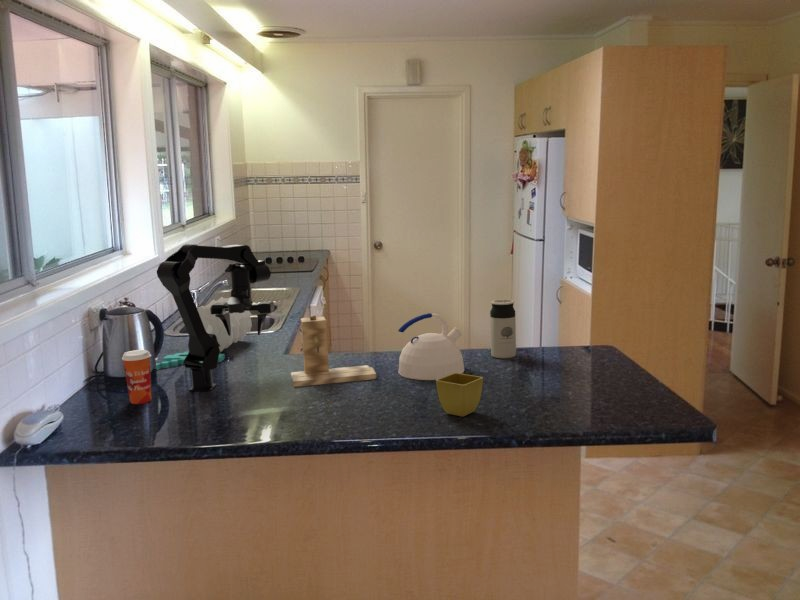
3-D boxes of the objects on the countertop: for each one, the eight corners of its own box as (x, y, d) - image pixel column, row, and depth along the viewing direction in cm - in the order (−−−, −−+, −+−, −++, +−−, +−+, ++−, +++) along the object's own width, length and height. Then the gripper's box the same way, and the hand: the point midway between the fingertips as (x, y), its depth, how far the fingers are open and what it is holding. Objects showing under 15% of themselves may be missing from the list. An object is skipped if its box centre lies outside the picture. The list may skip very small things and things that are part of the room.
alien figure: (211, 370, 239) (231, 355, 258) (210, 364, 239) (230, 349, 258) (151, 371, 241) (176, 356, 261) (151, 365, 241) (175, 350, 260)
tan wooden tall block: (308, 386, 211) (304, 325, 208) (304, 372, 226) (300, 315, 223) (332, 384, 212) (329, 322, 209) (327, 370, 227) (323, 313, 224)
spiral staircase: (246, 349, 282) (221, 363, 257) (204, 330, 283) (176, 342, 259) (263, 306, 279) (239, 316, 254) (221, 287, 280) (194, 295, 255)
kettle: (477, 374, 220) (475, 314, 217) (413, 384, 213) (410, 323, 209) (448, 359, 239) (446, 304, 235) (388, 368, 231) (385, 311, 228)
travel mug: (490, 353, 244) (489, 299, 241) (514, 352, 243) (513, 298, 240) (492, 359, 236) (491, 303, 233) (517, 358, 236) (516, 303, 233)
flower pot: (456, 405, 192) (455, 371, 190) (484, 411, 186) (483, 376, 185) (436, 414, 185) (434, 380, 184) (464, 421, 180) (463, 385, 178)
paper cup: (125, 406, 203) (119, 357, 200) (127, 398, 210) (122, 350, 208) (155, 403, 205) (150, 354, 202) (156, 395, 212) (151, 348, 210)
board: (294, 389, 212) (293, 381, 211) (290, 375, 227) (290, 367, 227) (376, 381, 216) (376, 373, 216) (368, 368, 232) (367, 360, 231)
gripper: (202, 290, 220) (206, 341, 222) (264, 288, 219) (268, 340, 221) (214, 284, 231) (217, 333, 233) (273, 283, 230) (276, 332, 232)
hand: (244, 335), depth 230 cm, fingers open, 9 cm apart
